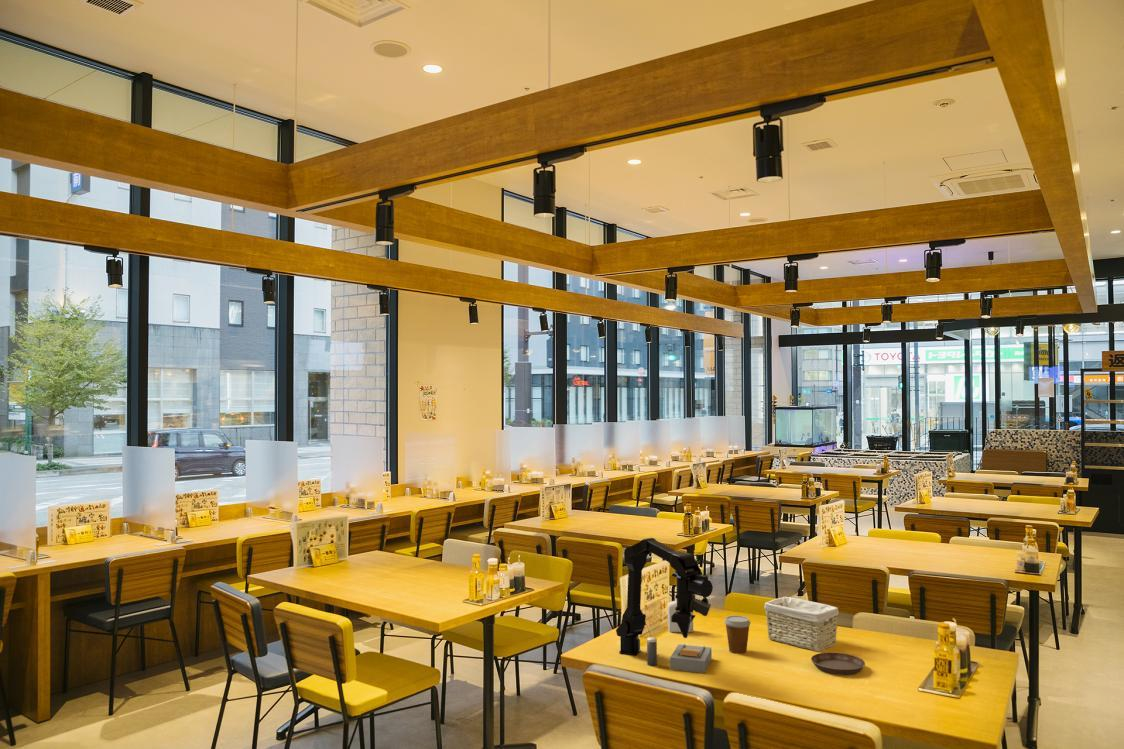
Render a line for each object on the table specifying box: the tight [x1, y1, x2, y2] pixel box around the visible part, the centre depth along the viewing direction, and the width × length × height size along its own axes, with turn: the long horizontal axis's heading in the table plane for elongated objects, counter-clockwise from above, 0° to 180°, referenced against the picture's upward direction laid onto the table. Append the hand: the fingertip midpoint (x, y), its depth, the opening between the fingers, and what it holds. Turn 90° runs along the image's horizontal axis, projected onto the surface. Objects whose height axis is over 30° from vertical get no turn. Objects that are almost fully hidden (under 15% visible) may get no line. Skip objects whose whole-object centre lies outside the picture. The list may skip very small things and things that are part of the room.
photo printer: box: [667, 600, 694, 633], centre depth 306 cm, size 10×4×12 cm, turn 88°
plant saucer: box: [810, 652, 866, 676], centre depth 261 cm, size 18×18×3 cm
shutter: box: [680, 648, 700, 657], centre depth 264 cm, size 6×6×2 cm
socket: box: [669, 643, 713, 674], centre depth 266 cm, size 12×16×5 cm
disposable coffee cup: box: [723, 615, 751, 655], centre depth 280 cm, size 10×10×12 cm
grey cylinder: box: [646, 636, 658, 667], centre depth 266 cm, size 3×3×9 cm
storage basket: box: [763, 596, 840, 652], centre depth 291 cm, size 24×16×15 cm
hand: (685, 637), depth 257 cm, fingers closed
